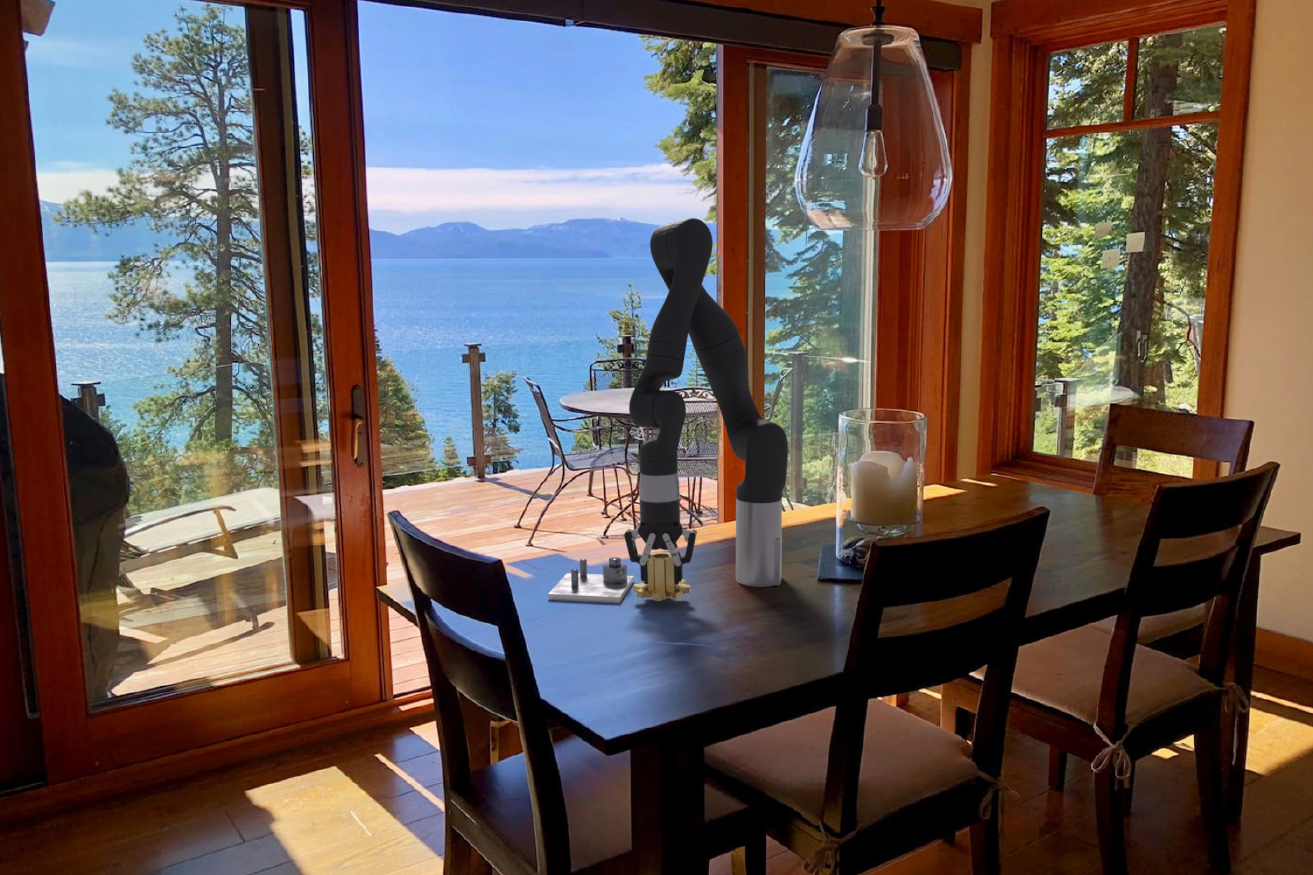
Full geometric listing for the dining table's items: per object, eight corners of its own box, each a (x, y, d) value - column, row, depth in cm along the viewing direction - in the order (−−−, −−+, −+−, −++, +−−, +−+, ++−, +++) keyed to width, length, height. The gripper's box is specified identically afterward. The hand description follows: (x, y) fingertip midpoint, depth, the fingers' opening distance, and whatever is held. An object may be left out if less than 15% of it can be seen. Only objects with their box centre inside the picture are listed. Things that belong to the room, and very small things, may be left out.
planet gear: (693, 583, 188) (692, 548, 187) (686, 601, 178) (686, 564, 177) (638, 582, 190) (637, 547, 189) (629, 599, 179) (628, 563, 178)
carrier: (633, 581, 197) (633, 554, 196) (619, 603, 184) (619, 573, 183) (567, 578, 200) (566, 551, 199) (548, 599, 186) (547, 570, 185)
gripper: (699, 492, 183) (701, 578, 186) (625, 491, 186) (627, 576, 188) (695, 500, 176) (697, 590, 179) (618, 500, 178) (621, 588, 181)
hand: (661, 583), depth 183 cm, fingers closed on planet gear, 5 cm apart
